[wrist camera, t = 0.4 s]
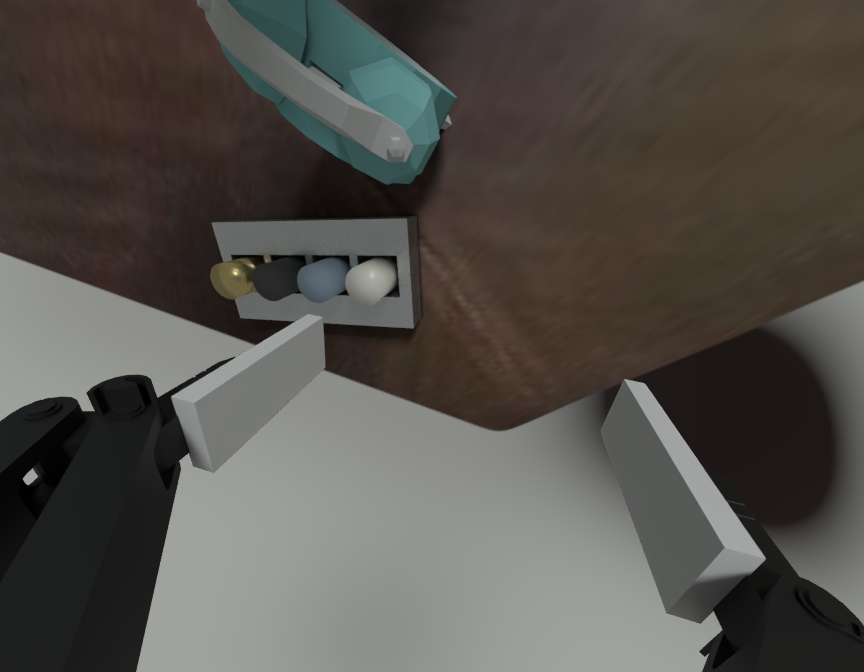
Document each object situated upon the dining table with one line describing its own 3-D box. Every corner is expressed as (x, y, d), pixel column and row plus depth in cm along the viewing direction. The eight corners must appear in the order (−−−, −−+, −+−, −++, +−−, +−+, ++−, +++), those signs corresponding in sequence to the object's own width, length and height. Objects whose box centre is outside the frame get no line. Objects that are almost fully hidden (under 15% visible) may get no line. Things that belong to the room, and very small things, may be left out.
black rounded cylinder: (281, 254, 41) (247, 263, 36) (311, 255, 40) (280, 264, 35) (289, 287, 43) (257, 300, 38) (317, 288, 42) (289, 301, 37)
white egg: (365, 255, 39) (342, 265, 33) (399, 255, 38) (381, 265, 32) (369, 289, 40) (348, 304, 35) (402, 290, 40) (385, 306, 34)
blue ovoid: (322, 255, 40) (293, 264, 35) (353, 255, 39) (329, 265, 34) (328, 288, 42) (301, 302, 36) (358, 289, 41) (335, 303, 36)
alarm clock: (485, 119, 32) (454, 32, 15) (434, 201, 37) (363, 209, 19) (348, 9, 31) (137, -229, 14) (313, 107, 36) (117, 23, 18)
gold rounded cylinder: (243, 254, 43) (205, 263, 37) (271, 254, 42) (236, 263, 36) (252, 286, 44) (217, 298, 39) (279, 286, 43) (246, 300, 38)
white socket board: (238, 219, 44) (211, 222, 40) (417, 215, 38) (406, 218, 34) (262, 307, 49) (240, 318, 45) (422, 315, 43) (413, 328, 39)
